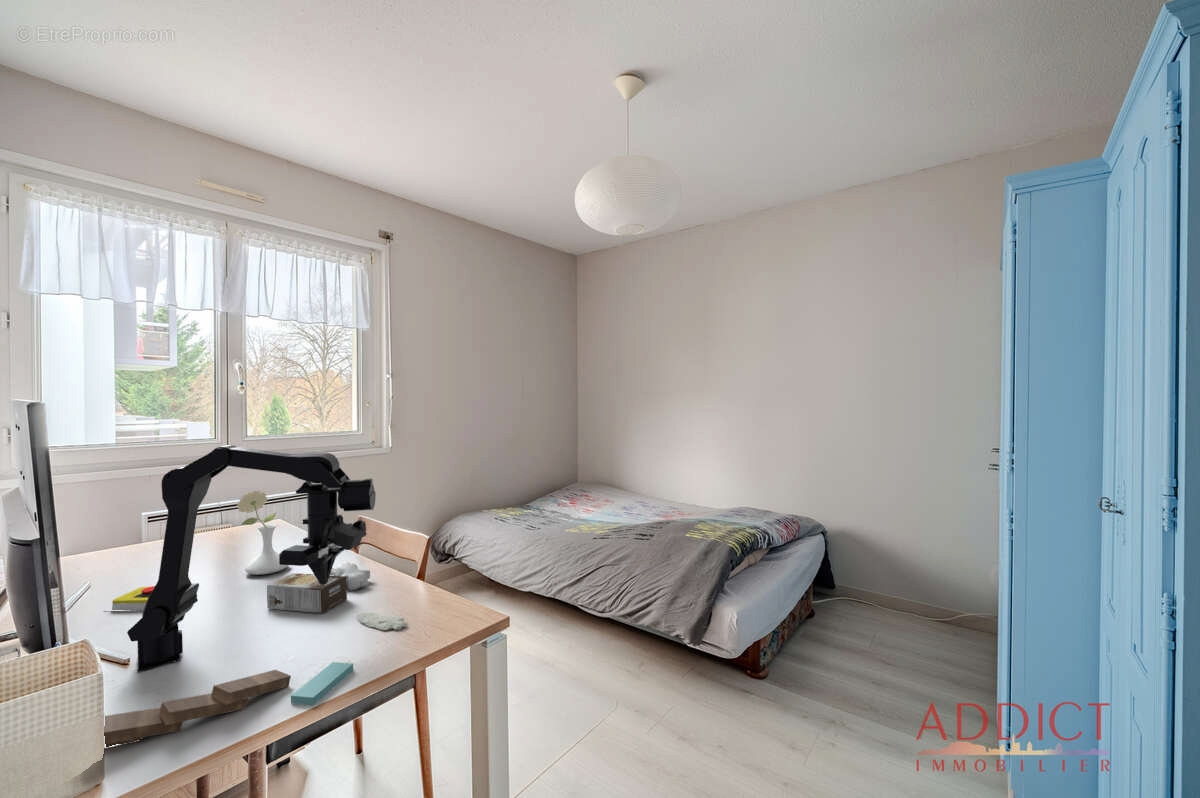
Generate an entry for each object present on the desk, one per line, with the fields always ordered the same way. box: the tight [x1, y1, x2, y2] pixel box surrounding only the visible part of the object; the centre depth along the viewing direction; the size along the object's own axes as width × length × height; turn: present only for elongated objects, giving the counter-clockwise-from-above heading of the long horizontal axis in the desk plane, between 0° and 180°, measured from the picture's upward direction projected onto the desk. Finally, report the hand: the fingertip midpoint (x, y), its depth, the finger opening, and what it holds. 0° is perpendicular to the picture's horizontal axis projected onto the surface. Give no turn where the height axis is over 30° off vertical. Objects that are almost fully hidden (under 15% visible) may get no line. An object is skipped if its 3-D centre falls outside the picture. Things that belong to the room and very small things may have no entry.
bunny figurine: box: [330, 561, 371, 592], centre depth 144 cm, size 10×5×15 cm
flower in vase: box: [236, 490, 289, 576], centre depth 153 cm, size 13×11×25 cm
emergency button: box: [111, 585, 155, 612], centre depth 131 cm, size 9×4×15 cm
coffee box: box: [266, 572, 348, 614], centre depth 130 cm, size 9×6×16 cm
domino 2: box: [159, 692, 249, 725], centre depth 85 cm, size 2×4×11 cm
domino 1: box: [104, 706, 184, 744], centre depth 80 cm, size 2×4×11 cm
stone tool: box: [356, 612, 408, 631], centre depth 120 cm, size 6×2×15 cm
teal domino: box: [290, 661, 354, 706], centre depth 94 cm, size 2×4×11 cm
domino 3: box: [211, 669, 292, 705], centre depth 90 cm, size 2×4×11 cm
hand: (323, 584), depth 110 cm, fingers closed
